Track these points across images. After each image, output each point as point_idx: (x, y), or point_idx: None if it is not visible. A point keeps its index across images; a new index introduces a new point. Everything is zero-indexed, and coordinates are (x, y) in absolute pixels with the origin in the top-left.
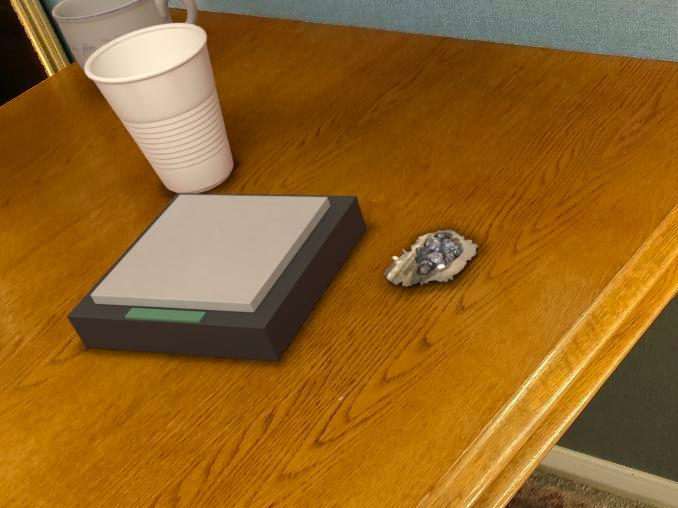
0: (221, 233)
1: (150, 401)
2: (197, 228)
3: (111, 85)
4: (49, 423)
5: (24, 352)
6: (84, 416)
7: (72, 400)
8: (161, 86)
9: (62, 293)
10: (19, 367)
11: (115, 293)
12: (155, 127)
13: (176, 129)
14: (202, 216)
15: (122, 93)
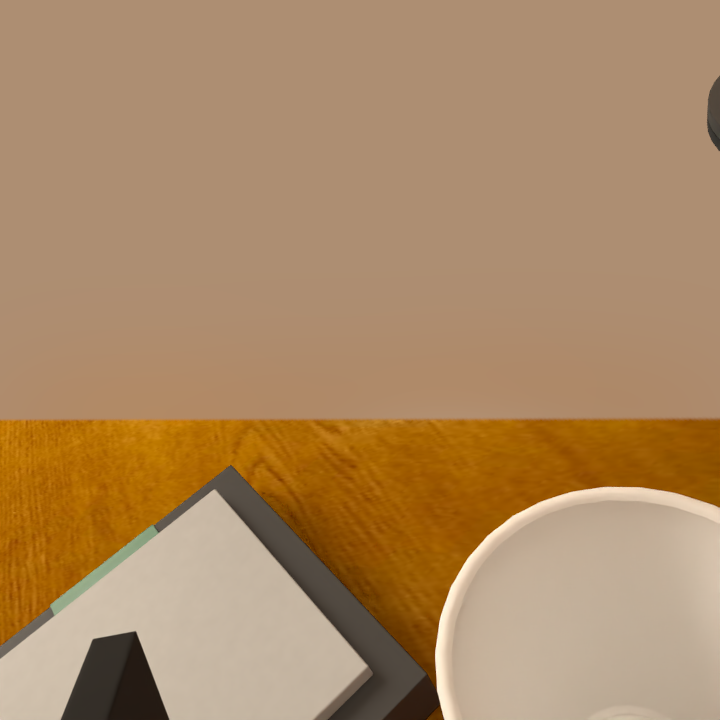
0: (170, 694)
1: (93, 545)
2: (224, 661)
3: (510, 539)
4: (165, 452)
5: (308, 434)
6: (141, 482)
7: (176, 474)
8: (460, 661)
9: (400, 479)
10: (284, 429)
11: (185, 516)
12: (510, 649)
13: (503, 702)
14: (252, 681)
15: (499, 565)
